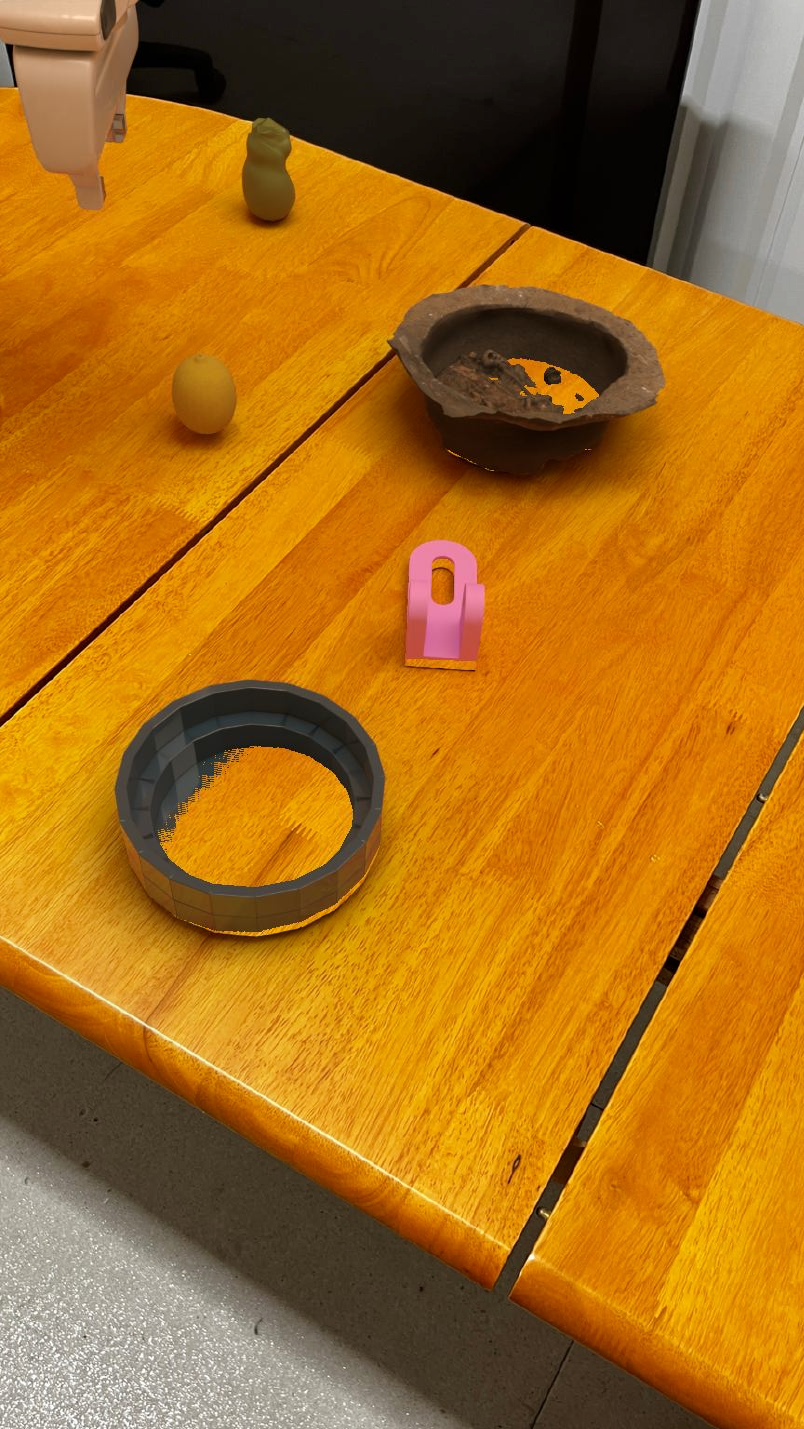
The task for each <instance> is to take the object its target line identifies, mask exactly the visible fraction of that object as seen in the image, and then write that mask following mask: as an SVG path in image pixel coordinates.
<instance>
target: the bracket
mask: <svg viewBox="0 0 804 1429" xmlns="http://www.w3.org/2000/svg"><path fill="white" fill-rule="evenodd" d="M437 559H448V560H450V561H451V562H453V564H454V600H453V599H452V601H451V602H450V603H447V604H440V603H436V602H435V601H434V600H433V598H432V582H433V580H432V579H433V578H432V576H433V571H432V563H433V562H434V561H435V560H437ZM408 576H409V583H408V582H407V599H408V606H407V605H406V623H407V630H406V629H405V646H406V653H405V652H404V660H405V659H428V660H455V661H477V662H478V656H479V651H480V643H481V637H482V630H483V625H484V624H483V623H484V615H485V596H486V594H485V592H486V590H485V589H486V588H485V584H484V583H478V564H477V560H476V557H475V556H474V554H473V553H472V552H471V551H470V549H468V548H467V547H466V546H464V545H462V544H460V543H457V542H454V541H451V540H446V539H445V540H444V539H436V540H430V541H427V542H424V543H422V544H420V545H418V546H417V547H416V548H415V549H414V550H413V551H412V553H411V555H410V556H409V564H408Z"/></svg>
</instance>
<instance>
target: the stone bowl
mask: <svg viewBox="0 0 804 1429" xmlns="http://www.w3.org/2000/svg"><path fill="white" fill-rule="evenodd" d="M392 335H393V338H392V339H386V340H385V342H386V343H387V344H388V346H389V347H390V349H391V350H392V351H393V353H395V355H396V356H397V358H398V360H399V362H400V363H401V364H402V367H403V368H404V370H405V371H406V373H407V374H408V376H409V377H410V378H411V379H412V381H413V383H414V384H415V385H416V387H417V388H418V389H419V391H420V392H421V393H423V398H424V403H425V410H426V414H427V416H428V418H429V420H430V422H432V424H433V425H434V428H436V430H438V433H440V436H441V439H442V446H443V448H444V447H445V448H446V449H447V450H450V451H451V452H453V453H455V454H457V455H459V456H461V457H463V458H466V459H468V460H469V461H472V462H473V463H476V464H477V465H476V466H478V465H479V466H480V467H479V466H478V467H479V468H481V467H483V468H487V469H489V470H494V471H496V472H502V471H503V472H505V473H509V474H513V475H521V476H525V475H530V474H536V473H539V472H541V471H542V469H543V468H544V466H545V464H546V463H547V462H548V461H549V460H556V461H567V460H569V459H570V458H572V457H573V456H577V455H579V454H581V453H582V452H584V451H586V450H585V449H587V450H588V449H593V450H595V449H596V448H597V447H598V446H600V444H601V442H602V441H603V438H604V436H605V434H606V433H607V430H608V428H609V426H610V424H611V421H612V420H615V419H622V418H624V417H627V416H630V415H633V414H637V413H639V412H641V411H644V410H646V409H649V408H651V407H653V406H655V405H657V404H658V403H659V402H658V401H657V400H656V399H657V398H658V397H660V394H658V393H659V392H660V391H661V390H663V389H665V387H666V378H665V376H664V371H663V370H664V369H663V368H662V364H661V363H660V361H659V357H658V349H657V348H656V347H655V346H654V345H653V343H652V342H651V341H650V340H649V339H647V337H646V335H645V334H644V333H643V331H641V330H640V329H638V328H637V326H636V324H634V323H633V322H632V321H631V320H628V319H626V318H623V317H621V316H618V315H615V314H614V313H613V312H612V311H610V310H608V309H606V308H604V307H602V306H599V305H597V304H594V303H590V302H588V301H585V300H584V299H580V298H575V297H571V296H569V295H567V294H563V293H559V292H556V291H552V290H549V289H545V288H540V287H536V286H518V287H509V286H508V285H507V284H500V285H495V284H493V285H492V284H485V283H483V284H479V285H473V286H467V287H462V288H457V289H454V290H453V291H448V292H442V293H441V292H440V293H432V294H430V295H428V296H427V297H425V298H423V299H421V300H420V301H419V302H416V303H415V304H414V305H412V306H410V308H408V309H407V311H406V312H405V314H404V316H403V320H402V321H401V322H400V323H399V324H398V326H397V327H396V330H395V332H393V333H392ZM512 358H515V359H520V358H522V359H527V360H529V359H530V360H534V361H540V362H546V363H547V364H549V365H553V366H556V367H560V368H562V369H564V370H567V371H570V373H572V374H577V375H578V376H580V377H581V378H583V379H584V380H585V381H586V382H587V383H588V384H589V385H590V386H591V387H592V388H594V389H595V391H596V392H597V393H598V394H599V397H597V398H596V399H593V400H591V401H590V402H588V403H587V404H586V405H585V406H584V407H583V408H578V409H575V410H574V412H575V413H571V414H563V411H564V408H563V407H564V406H562V405H555V404H553V403H552V397H551V396H549V395H541V394H538V392H537V393H536V395H533V394H531V393H530V392H529V391H528V390H527V389H526V388H525V387H524V386H525V385H527V387H534V388H537V387H536V386H535V385H536V384H535V382H533V381H532V380H531V378H530V377H529V376H528V374H527V373H526V372H525V368H524V367H523V366H521V365H520V364H516V365H511V364H510V363H509V362H508V361H507V360H509V359H512ZM560 374H561V372H560V371H558V370H556V369H555V368H554V367H549V368H547V369H546V371H545V373H544V381H545V382H546V384H548V385H551V384H559V383H561V376H560ZM489 377H490V378H498V380H491V379H490V378H489ZM521 391H524V392H523V393H525V395H527V396H522V394H521V395H520V392H521ZM575 397H576V399H578V401H583V400H584V398H583V397H582V396H581V395H579V394H577V393H576V395H575ZM599 443H600V444H599ZM595 447H596V448H595ZM445 448H444V449H445ZM446 449H445V450H446ZM463 458H462V459H463ZM483 468H482V469H483Z"/></svg>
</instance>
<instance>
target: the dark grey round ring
mask: <svg viewBox="0 0 804 1429" xmlns="http://www.w3.org/2000/svg"><path fill="white" fill-rule="evenodd" d="M250 746H257V747H258V746H261V747H273V748H277V747H279V748H285V749H289V750H291V751H295V752H298V753H301V754H305V755H306V756H310V757H311V758H313V759H314V760H315V761H317V762H319V763H321V764H322V765H323V766H324V767H326V768H328V769H329V770H331V771H332V772H333V773H334V774H335V775H336V777H337V778H338V780H339V781H340V783H341V784H342V785H343V786H344V788H346V790H347V792H348V795H349V798H350V802H351V805H352V809H353V820H352V827H351V829H350V831H349V833H348V834H347V836H346V838H345V840H344V842H343V844H342V846H341V848H340V850H339V851H338V852H337V853H336V854H335V855H334V856H333V857H332V858H331V859H330V860H329V861H328V862H327V863H326V864H324V865H323V866H321V867H319V868H317V869H315V870H313V871H311V872H309V873H307V874H305V875H303V876H301V877H299V878H297V879H295V880H291V881H285V882H280V883H275V884H270V885H264V886H259V887H246V886H234V885H222V884H212V883H210V882H207V881H204V880H202V879H199V878H196V877H194V876H191V875H189V874H188V873H186V872H185V871H184V870H183V869H181V868H180V867H179V866H177V865H176V864H175V863H174V862H172V861H171V860H170V859H169V858H168V856H167V854H166V853H165V851H164V850H163V848H162V846H163V845H162V846H161V845H160V842H165V841H169V840H164V841H161V839H159V838H161V837H159V836H161V835H164V834H161V833H164V832H161V831H164V830H165V832H171V831H174V830H171V829H175V828H176V823H175V822H176V819H175V817H174V816H175V814H176V815H182V814H186V813H182V812H186V811H182V810H186V809H182V808H185V807H182V806H185V805H182V804H185V803H188V801H192V800H195V799H192V800H188V799H191V798H195V797H191V796H195V795H193V794H195V792H198V791H200V790H199V789H201V788H202V787H205V788H210V787H206V786H210V785H206V784H210V783H206V782H214V781H210V780H214V779H207V780H208V781H206V780H202V779H206V778H202V777H206V776H202V775H207V776H208V777H207V778H210V777H209V776H214V774H216V775H221V774H217V773H221V772H217V771H222V770H218V769H222V768H218V767H214V766H218V765H214V764H218V763H214V762H221V763H227V761H230V760H227V759H230V758H227V757H231V756H228V755H231V754H228V753H236V752H231V751H236V750H232V749H237V748H238V749H241V748H249V747H250ZM250 748H254V747H250ZM225 750H226V751H225ZM228 750H230V751H228ZM241 750H244V749H241ZM224 752H228V753H224ZM239 752H244V751H240V750H239ZM224 754H227V755H224ZM237 754H240V753H237ZM241 754H243V753H241ZM215 755H216V756H215ZM232 755H235V754H232ZM247 755H248V754H247ZM223 756H225V757H223ZM235 756H239V755H235ZM235 756H234V758H239V757H235ZM242 756H243V755H242ZM215 757H216V758H215ZM219 758H220V759H219ZM223 758H224V759H223ZM232 760H235V759H232ZM236 760H239V759H236ZM204 762H205V763H204ZM231 762H234V761H231ZM236 762H239V761H236ZM211 763H212V764H211ZM203 764H204V765H203ZM220 765H222V764H220ZM223 765H226V764H223ZM228 766H229V765H228ZM219 767H222V766H219ZM223 767H224V766H223ZM214 768H218V769H214ZM227 768H229V767H227ZM214 770H217V771H214ZM214 772H216V773H214ZM225 772H226V771H225ZM225 774H226V773H225ZM199 776H200V777H199ZM216 777H217V776H216ZM211 778H214V777H211ZM202 781H206V782H202ZM202 783H206V784H202ZM202 785H206V786H202ZM213 787H214V786H213ZM195 788H198V789H195ZM385 789H386V773H385V770H384V767H383V763H382V760H381V756H380V753H379V750H378V746H377V744H376V742H375V741H374V740H373V739H372V737H371V736H370V735H369V733H368V732H367V730H366V729H365V728H364V727H363V725H362V724H361V723H360V721H359V720H358V718H357V717H356V716H355V715H353V713H350V712H349V711H348V710H346V709H345V708H343V707H342V706H340V705H339V704H337V703H336V702H335V701H333V700H332V699H331V698H329V697H327V696H325V695H324V694H321V693H319V692H315V691H313V690H310V689H307V688H304V687H301V686H299V685H296V684H292V683H290V682H283V681H271V680H261V679H241V680H236V681H228V682H221V683H215V684H210V685H207V686H205V687H202V688H200V689H198V690H196V691H193V692H191V693H188V694H186V695H183V696H181V697H178V698H176V699H174V700H172V701H171V702H170V703H168V704H167V705H166V706H164V707H163V708H162V709H160V710H159V711H158V712H157V713H155V714H154V715H153V716H151V717H150V718H149V719H147V720H146V721H145V722H144V723H143V724H142V725H141V726H140V728H139V729H138V731H137V732H136V734H135V736H133V738H132V740H131V741H130V742H129V744H128V745H127V746H126V749H125V750H124V752H122V756H121V760H120V764H119V768H118V772H117V776H116V780H115V782H114V790H113V791H114V795H115V796H114V797H115V802H116V809H117V816H118V822H119V823H118V824H119V826H120V831H121V835H122V838H123V842H124V848H125V850H126V854H127V858H128V864H129V866H130V867H131V869H132V871H133V872H134V874H135V876H136V878H137V879H138V881H139V882H140V884H141V886H142V888H143V890H144V891H145V893H146V895H148V897H149V898H151V899H152V898H153V899H154V900H153V899H152V900H153V901H154V902H156V901H157V902H158V903H159V904H158V903H157V902H156V903H157V904H158V905H159V906H161V905H162V906H163V907H164V908H165V909H164V908H163V907H162V906H161V907H162V908H163V909H164V910H166V909H167V910H168V911H169V912H171V913H172V914H173V915H175V916H176V917H178V918H179V919H182V920H186V921H187V922H192V923H194V924H197V925H200V926H202V927H205V928H209V929H211V930H214V931H215V930H216V931H222V932H224V931H233V932H237V931H239V932H244V931H245V932H262V931H263V930H267V929H269V930H270V929H272V928H276V927H280V926H284V925H290V924H293V923H297V922H298V923H299V922H302V921H304V920H306V919H308V918H309V917H311V916H313V915H315V914H316V913H318V912H321V911H323V910H325V909H328V908H329V907H331V906H333V905H335V904H336V903H338V901H339V900H340V899H342V897H343V896H345V895H346V894H347V893H348V892H349V891H350V889H352V888H353V887H354V886H355V885H356V884H357V883H358V882H359V881H360V880H361V879H362V878H363V877H364V875H365V874H366V872H367V870H368V868H369V866H370V864H371V862H372V860H373V858H374V856H375V854H376V852H377V850H378V848H379V846H380V847H381V841H382V830H383V819H384V818H383V817H384V804H385V803H384V802H385ZM195 790H198V791H195ZM205 790H206V789H205ZM198 793H199V792H198ZM198 795H199V794H198ZM188 797H191V798H188ZM198 797H199V796H198ZM198 799H199V798H198ZM182 802H185V803H182ZM192 802H195V801H192ZM178 803H179V804H178ZM178 805H180V806H178ZM186 805H188V804H186ZM178 807H180V808H178ZM186 807H188V806H186ZM178 809H181V810H178ZM187 809H188V808H187ZM178 811H181V812H178ZM187 812H188V810H187ZM179 813H182V814H179ZM169 815H170V816H169ZM169 817H171V818H169ZM176 817H179V816H176ZM382 818H383V819H382ZM177 819H179V818H177ZM178 821H179V820H178ZM166 822H167V823H166ZM166 824H167V825H166ZM174 827H175V828H174ZM167 828H168V829H167ZM161 829H164V830H161ZM381 829H382V830H381ZM158 830H159V831H158ZM167 830H170V831H167ZM158 832H160V833H158ZM171 833H174V832H171ZM171 833H170V834H171ZM158 834H161V835H158ZM166 834H168V833H166ZM173 835H174V834H173ZM168 836H171V835H167V836H165V837H168ZM162 837H164V836H162ZM168 838H172V837H168ZM163 839H165V838H163ZM170 840H172V839H170ZM380 840H381V841H380ZM171 842H172V841H171ZM161 844H162V843H161ZM165 850H167V849H165ZM166 852H167V851H166ZM167 910H166V911H167ZM168 911H167V912H168ZM169 912H168V913H169ZM171 913H170V914H171ZM172 914H171V915H172ZM173 915H172V916H173ZM176 917H175V918H176ZM179 919H178V920H179ZM187 922H186V923H187Z"/></svg>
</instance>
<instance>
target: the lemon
mask: <svg viewBox="0 0 804 1429" xmlns="http://www.w3.org/2000/svg"><path fill="white" fill-rule="evenodd" d="M237 400H238V399H237V390H236V385H235V382H234V379H233V376H232V374H231V372H230V370H229V368H228V367H227V366H226V365H225V363H224V362H223V361H221V360H220V359H219V358H218V357H215V356H213V355H210V354H207V353H205V354H204V353H197V354H193V355H189V356H188V357H186V358H184V359H183V360H182V361H181V362H180V363H179V364H178V366H177V367H176V368H175V371H174V374H173V377H172V383H171V401H172V404H173V408H174V411H175V413H176V416H177V417H178V420H180V422H181V423H182V424H183V425H184V426H185V427H186V428H187V429H189V430H190V431H193V432H194V433H197V434H201V435H211V434H215V433H219V432H221V431H222V430H224V429H225V428H226V427H227V426H229V424H230V422H231V421H232V420H233V418H234V415H235V412H236V408H237V402H238V401H237Z"/></svg>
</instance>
